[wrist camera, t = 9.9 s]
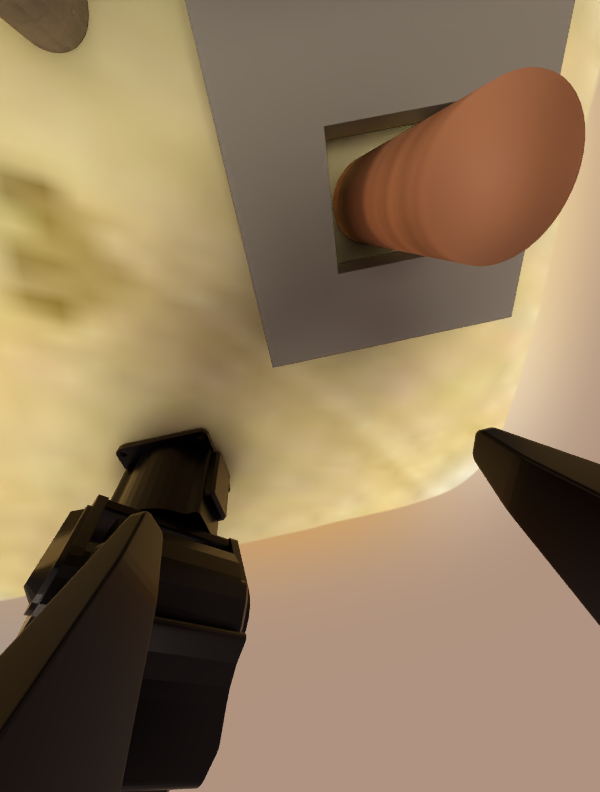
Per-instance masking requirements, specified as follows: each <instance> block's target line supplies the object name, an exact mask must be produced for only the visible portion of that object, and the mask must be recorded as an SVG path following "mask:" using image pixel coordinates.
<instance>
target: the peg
mask: <svg viewBox="0 0 600 792" xmlns="http://www.w3.org/2000/svg"><path fill="white" fill-rule="evenodd" d="M584 143H585V122H584V114H583V110H582V106H581V103H580V100H579V98H578V96H577V93H576V92H575V90H574V89H573V87H572V86H571V84H570V83H569V82H568V81H567V80H566V79H565V78H564V77H563V76H561V75H560V74H558V73H556V72H555V71H552V70H549V69H546V68H541V67H526V68H520V69H517V70H513V71H510V72H508V73H506V74H504V75H502V76H499V77H498V78H496V79H494V80H492V81H491V82H489V83H487V84H486V85H484V86H482V87H480V88H479V89H477V90H475V91H473V92H472V93H470V94H468V95H467V96H465V97H463V98H461V99H460V100H458V101H456V102H454V103H453V104H451V105H449V106H448V107H446V108H444V109H442V110H441V111H439V112H437V113H435V114H434V115H432V116H430V117H429V118H427V119H425V120H423V121H422V122H420V123H418V124H416V125H415V126H413V127H411V128H410V129H408V130H406V131H404V132H403V133H401V134H399V135H397V136H396V137H394V138H392V139H391V140H389V141H387V142H385V143H384V144H382V145H380V146H378V147H377V148H375V149H373V150H372V151H370V152H368V153H366V154H365V155H363V156H361V157H359V158H358V159H356V160H355V161H353V162H352V163H351V164H350V165H349V166H348V167H347V168H346V169H345V170H344V172H343V173H342V175H341V177H340V179H339V181H338V183H337V186H336V189H335V194H334V203H333V204H334V214H335V218H336V221H337V223H338V225H339V227H340V229H341V230H342V232H343V233H344V234H345V235H346V236H347V237H348V238H350V239H351V240H353V241H356V242H359V243H364V244H369V245H373V246H378V247H383V248H388V249H393V250H398V251H402V252H407V253H412V254H417V255H422V256H427V257H431V258H436V259H441V260H446V261H451V262H456V263H461V264H465V265H471V266H490V265H495V264H498V263H502V262H504V261H506V260H509V259H511V258H513V257H515V256H516V255H518V254H520V253H521V252H523V251H524V250H525V249H527V248H528V247H529V246H531V245H532V244H533V243H534V242H535V241H537V240H538V239H539V238H540V237H541V235H542V234H543V233H544V232H545V231H546V230H547V229H548V228H549V227H550V225H551V224H552V223H553V222H554V220H555V219H556V217H557V216H558V215H559V213H560V212H561V210H562V208H563V207H564V205H565V203H566V201H567V199H568V197H569V195H570V193H571V191H572V189H573V186H574V184H575V182H576V179H577V176H578V173H579V169H580V166H581V162H582V157H583V153H584Z"/></svg>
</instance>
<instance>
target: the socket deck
mask: <svg viewBox="0 0 600 792" xmlns="http://www.w3.org/2000/svg"><path fill="white" fill-rule="evenodd" d="M185 3H186V7H187V11H188V15H189V19H190V24H191V28H192V32H193V36H194V40H195V44H196V49H197V53H198V57H199V61H200V65H201V69H202V74H203V78H204V82H205V86H206V90H207V95H208V99H209V103H210V107H211V111H212V115H213V120H214V124H215V128H216V132H217V136H218V141H219V145H220V149H221V153H222V157H223V161H224V166H225V170H226V174H227V178H228V182H229V186H230V191H231V195H232V199H233V203H234V207H235V212H236V216H237V220H238V224H239V228H240V232H241V237H242V241H243V245H244V249H245V253H246V258H247V262H248V266H249V270H250V274H251V278H252V283H253V287H254V291H255V295H256V299H257V303H258V308H259V312H260V316H261V320H262V324H263V329H264V333H265V337H266V341H267V345H268V349H269V354H270V358H271V362H272V366H273V368H274V367H279V366H284V365H288V364H293V363H298V362H302V361H307V360H312V359H316V358H321V357H326V356H330V355H335V354H340V353H344V352H349V351H354V350H358V349H363V348H368V347H373V346H377V345H382V344H387V343H391V342H396V341H401V340H405V339H410V338H415V337H419V336H424V335H429V334H433V333H438V332H443V331H447V330H452V329H457V328H461V327H466V326H471V325H476V324H480V323H485V322H490V321H494V320H499V319H504V318H508V317H511V316H512V311H513V306H514V301H515V296H516V291H517V286H518V281H519V276H520V271H521V266H522V261H523V256H524V251H525V250H524V251H523V252H521V253H520V254H518V255H516V256H515V257H513V258H511V259H509V260H506V261H504V262H502V263H498V264H495V265H490V266H471V265H465V264H461V263H456V262H451V261H446V260H441V259H436V258H431V257H427V256H422V255H417V254H412V253H407V252H402V251H399V252H394V253H389V254H384V255H379V256H374V257H369V258H364V259H359V260H354V261H349V262H345V263H340V264H337V257H336V246H335V236H334V225H333V215H332V204H331V194H330V183H329V173H328V163H327V152H326V142H325V140H330V139H335V138H340V137H345V136H351V135H356V134H361V133H366V132H372V131H377V130H382V129H387V128H393V127H398V126H403V125H408V124H414V123H419V122H422V121H423V120H425V119H427V118H429V117H430V116H432V115H434V114H435V113H437V112H439V111H441V110H442V109H444V108H446V107H448V106H449V105H451V104H453V103H454V102H456V101H458V100H460V99H461V98H463V97H465V96H467V95H468V94H470V93H472V92H473V91H475V90H477V89H479V88H480V87H482V86H484V85H486V84H487V83H489V82H491V81H492V80H494V79H496V78H498V77H499V76H502V75H504V74H506V73H508V72H510V71H513V70H517V69H520V68H526V67H541V68H546V69H549V70H552V71H555V72H556V73H558V74H560V72H561V67H562V62H563V57H564V52H565V47H566V43H567V38H568V33H569V28H570V23H571V18H572V13H573V8H574V3H575V0H185Z"/></svg>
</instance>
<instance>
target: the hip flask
mask: <svg viewBox="0 0 600 792" xmlns="http://www.w3.org/2000/svg"><path fill="white" fill-rule="evenodd" d="M0 17H1V18H2V19H3V20H4V21H6V22H7V23H8V24H9V25H11V26H12V27H13V28H14V29H16V30H17V31H18V32H19V33H21V34H22V35H23V36H24V37H25V38H27V39H28V40H29V41H31V42H32V43H33V44H35V45H37V46H38V47H40V48H42V49H44V50H47V51H50V52H56V53H63V52H68V51H71V50H72V49H74V48H76V47H77V46H78V45H79V44H80V43H81V41H82V39H83V38H84V36H85V33H86V30H87V26H88V2H87V0H0Z"/></svg>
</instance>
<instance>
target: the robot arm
mask: <svg viewBox="0 0 600 792" xmlns="http://www.w3.org/2000/svg"><path fill="white" fill-rule="evenodd" d="M199 435H203V437H200V436H199ZM124 452H127V453H124ZM116 455H117V457H118V458H119V460H120V461H121V463H122V464H123V466H124V467H125V469H126V471H125V473H124V475H123V477H122V479H121V481H120V483H119V485H118V487H117V489H116V490H115V492H114V494H113V496H112V498H111V500H108V499H109V498H108V497H105V496H102V495H98V496H97V498H96V500H95V501H94V503H93V504H92V506H90V505H87V507H86V508H85V509H82V510H76V511H71V512H70V514H69V515H68V517H67V519H66V520H65V522H64V523H63V525H62V527H61V528H60V530H59V531H58V533H57V535H56V536H55V538H54V539H53V541H52V543H51V544H50V546H49V547H48V549H47V550H46V552H45V554H44V555H43V557H42V558H41V560H40V561H39V563H38V565H37V566H36V568H35V569H34V571H33V573H32V574H31V576H30V577H29V579H28V581H27V582H26V584H25V585H24V589H25V593H26V596H27V599H28V602H29V605H28V607H27V609H26V611H25V613H24V615H27V618H26V620H25V622H24V624H23V626H22V628H21V630H20V632H19V634H18V636H17V638H16V639H15V640H14V641H13V642H12V643H11V644H10V645H9V646H8V648H7V649H6V650H5V651H4V652H3V653H2V654H1V655H0V792H169V791H170V790H173V789H193V788H198V787H199V786H200V785H201V784H202V782H203V780H204V779H205V777H206V775H207V772H208V770H209V768H210V766H211V764H212V762H213V760H214V758H215V756H216V754H217V751H218V749H219V745H220V739H221V733H222V727H223V722H224V716H225V710H226V704H227V699H228V694H229V689H230V685H231V682H232V678H233V675H234V671H235V667H236V664H237V661H238V659H239V656H240V654H241V651H242V649H243V647H244V644H245V641H246V634H245V631H246V627H247V623H248V618H249V609H250V595H249V589H248V585H247V580H246V576H245V572H244V567H243V562H242V558H241V554H240V549H239V545H238V541H237V540H234V539H231V538H229V539H226V538H223V537H220V536H217V530H218V521H221V520H224V519H225V517H226V513H227V502H228V492H229V491H230V483H229V479H230V475H229V472H228V470H227V467H226V465H225V462H224V460H223V457H222V455H221V453H220V452H218V451H216V450H215V447H214V445H213V443H212V440H211V438H210V435H209V433H208V431H207V430H205V429H195V430H191V431H186V432H182V433H177V434H172V435H168V436H163V437H159V438H154V439H150V440H145V441H140V442H136V443H131V444H127V445H122V446H120V447H119V448H118V450H117V452H116ZM473 457H474V460H475V462H476V464H477V465H478V467H479V468H480V470H481V471H482V472H483V474H484V476H485V477H486V478H487V480H488V482H489V483H490V485H491V486H492V488H493V489H494V491H495V493H496V494H497V496H498V497H499V499H500V500H501V502H502V503H503V505H504V506H505V508H506V509H507V510H508V512H509V513H510V514H511V516H512V517H513V518H514V519H515V521H516V522H517V523H518V524H519V526H520V527H521V528H522V529H523V531H524V532H525V533H526V534H527V536H528V537H529V538H530V539H531V541H532V542H533V543H534V544H535V546H536V547H537V548H538V549H539V551H540V552H541V553H542V554H543V556H544V557H545V558H546V559H547V560H548V562H549V563H550V564H551V566H552V567H553V568H554V569H555V570H556V572H557V573H558V574H559V575H560V577H561V578H562V579H563V580H564V582H565V583H566V584H567V585H568V587H569V588H570V589H571V590H572V591H573V593H574V594H575V595H576V597H577V598H578V599H579V600H580V602H581V603H582V604H583V605H584V607H585V608H586V609H587V610H588V612H589V613H590V614H591V615H592V616H593V618H594V619H595V620H596V622H597V623H598V624H599V625H600V464H598V463H595V462H592V461H589V460H586V459H583V458H580V457H578V456H575V455H571V454H569V453H566V452H563V451H560V450H557V449H554V448H552V447H549V446H546V445H543V444H540V443H537V442H534V441H532V440H528V439H526V438H523V437H520V436H517V435H514V434H511V433H508V432H506V431H503V430H500V429H497V428H493V427H491V428H486V429H482V430H479V431H477V433H476V435H475V442H474V448H473Z"/></svg>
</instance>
